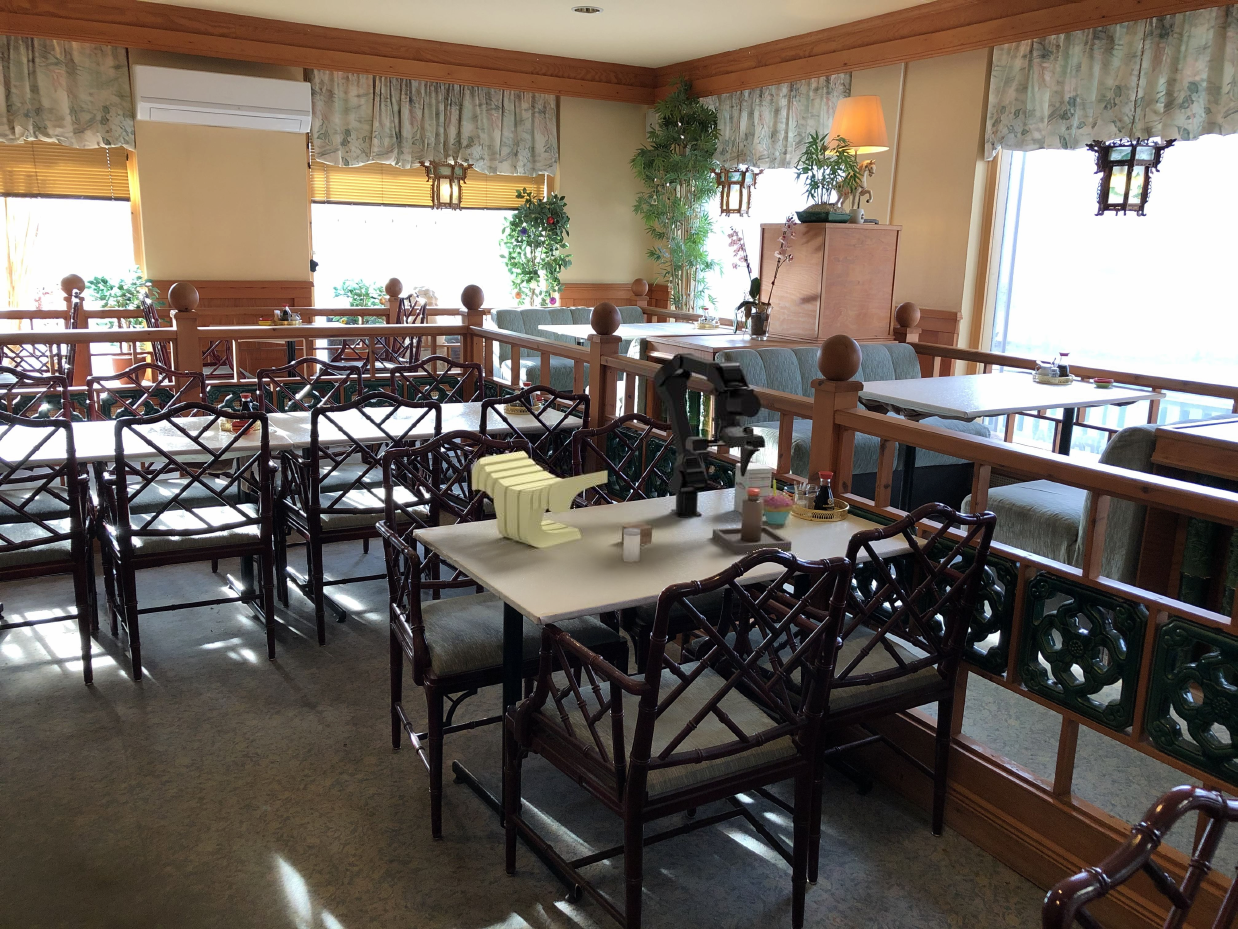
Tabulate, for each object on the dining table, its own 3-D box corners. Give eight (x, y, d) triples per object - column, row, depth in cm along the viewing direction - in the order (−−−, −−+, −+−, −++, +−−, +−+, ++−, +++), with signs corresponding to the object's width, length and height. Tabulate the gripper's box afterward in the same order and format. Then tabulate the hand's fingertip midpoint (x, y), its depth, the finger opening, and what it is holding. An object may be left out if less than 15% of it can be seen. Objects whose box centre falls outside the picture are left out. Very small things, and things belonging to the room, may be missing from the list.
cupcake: (782, 528, 242) (785, 481, 240) (752, 522, 247) (754, 476, 245) (798, 521, 249) (801, 475, 246) (769, 515, 254) (771, 471, 251)
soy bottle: (736, 539, 228) (739, 489, 225) (748, 535, 231) (751, 486, 229) (753, 543, 225) (756, 493, 222) (765, 539, 228) (768, 489, 226)
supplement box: (733, 509, 260) (735, 463, 257) (758, 507, 262) (760, 461, 260) (744, 516, 253) (746, 468, 251) (770, 514, 255) (772, 467, 253)
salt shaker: (621, 557, 216) (622, 528, 214) (636, 556, 217) (637, 527, 215) (625, 562, 212) (626, 532, 211) (641, 561, 213) (642, 531, 212)
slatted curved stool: (472, 531, 235) (471, 459, 231) (523, 519, 246) (523, 451, 242) (554, 559, 214) (554, 480, 210) (606, 545, 225) (607, 470, 221)
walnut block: (621, 541, 228) (622, 525, 228) (638, 538, 231) (638, 522, 231) (635, 546, 225) (635, 530, 224) (651, 543, 228) (652, 527, 227)
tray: (712, 537, 233) (712, 529, 232) (766, 533, 237) (766, 526, 236) (734, 554, 220) (734, 545, 219) (791, 550, 223) (791, 542, 223)
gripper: (700, 418, 224) (700, 485, 227) (775, 415, 229) (774, 480, 232) (684, 414, 235) (684, 477, 237) (756, 411, 240) (755, 473, 242)
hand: (725, 477), depth 237 cm, fingers open, 9 cm apart
